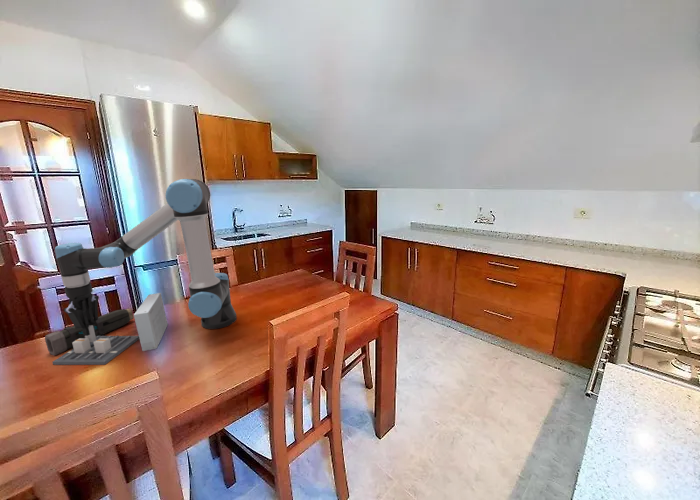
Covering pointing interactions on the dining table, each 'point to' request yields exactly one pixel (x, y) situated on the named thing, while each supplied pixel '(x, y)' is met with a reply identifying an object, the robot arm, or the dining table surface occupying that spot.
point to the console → (97, 358)
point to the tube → (64, 338)
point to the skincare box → (151, 321)
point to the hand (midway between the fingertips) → (91, 341)
